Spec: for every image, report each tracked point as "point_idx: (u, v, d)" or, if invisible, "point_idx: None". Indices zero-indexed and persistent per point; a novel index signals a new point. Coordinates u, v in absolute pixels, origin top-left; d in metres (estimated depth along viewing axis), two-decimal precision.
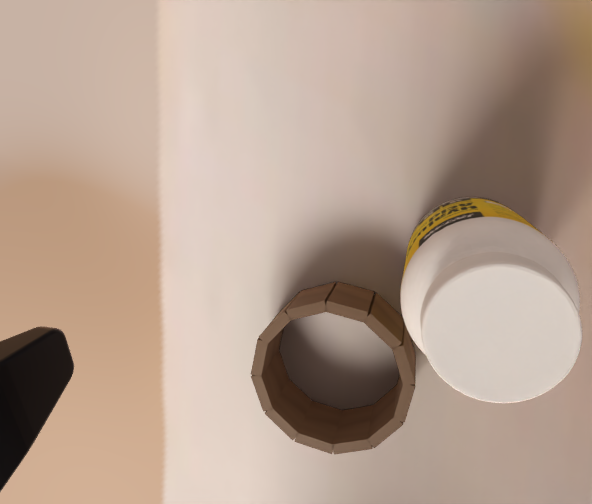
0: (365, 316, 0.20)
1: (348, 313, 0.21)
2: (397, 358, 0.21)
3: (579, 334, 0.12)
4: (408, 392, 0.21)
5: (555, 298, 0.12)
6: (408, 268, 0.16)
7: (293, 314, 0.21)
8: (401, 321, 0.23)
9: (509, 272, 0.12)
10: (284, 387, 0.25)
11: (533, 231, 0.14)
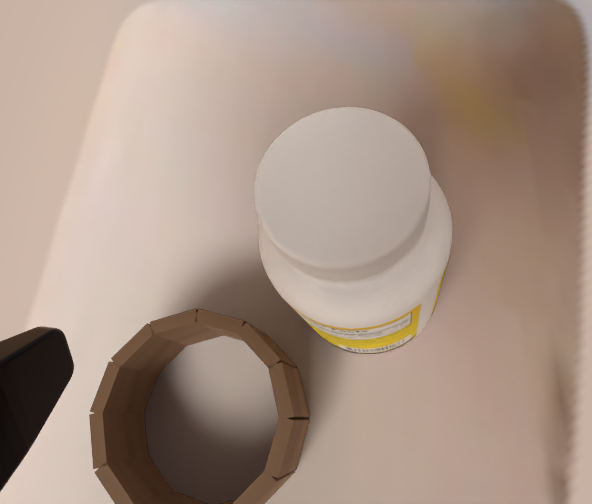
0: (240, 326, 0.17)
1: (220, 322, 0.17)
2: (273, 381, 0.16)
3: (426, 171, 0.10)
4: (285, 430, 0.16)
5: (396, 135, 0.11)
6: None
7: (157, 326, 0.18)
8: (291, 363, 0.19)
9: (347, 114, 0.11)
10: (137, 459, 0.18)
11: None
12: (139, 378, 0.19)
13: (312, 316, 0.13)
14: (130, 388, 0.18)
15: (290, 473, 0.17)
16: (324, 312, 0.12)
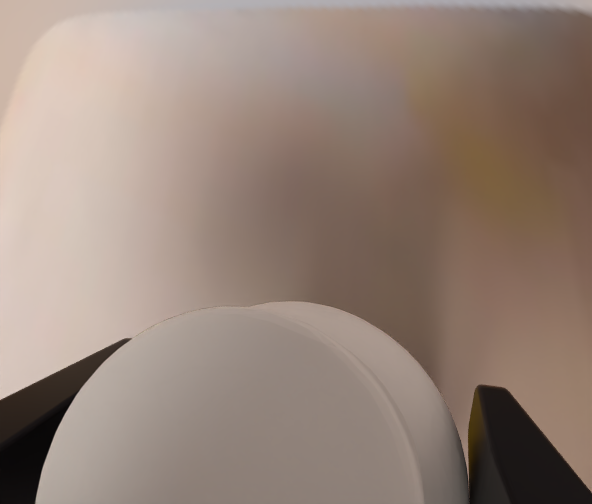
0: None
1: None
2: None
3: None
4: None
5: (346, 395, 0.05)
6: None
7: None
8: None
9: (243, 327, 0.05)
10: None
11: (364, 321, 0.08)
12: None
13: None
14: None
15: None
16: None
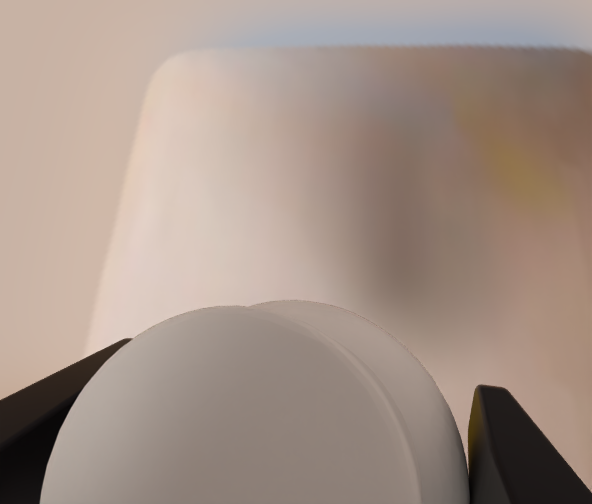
0: None
1: None
2: None
3: None
4: None
5: (344, 394, 0.05)
6: None
7: None
8: None
9: (241, 327, 0.05)
10: None
11: (364, 319, 0.08)
12: None
13: None
14: None
15: None
16: None
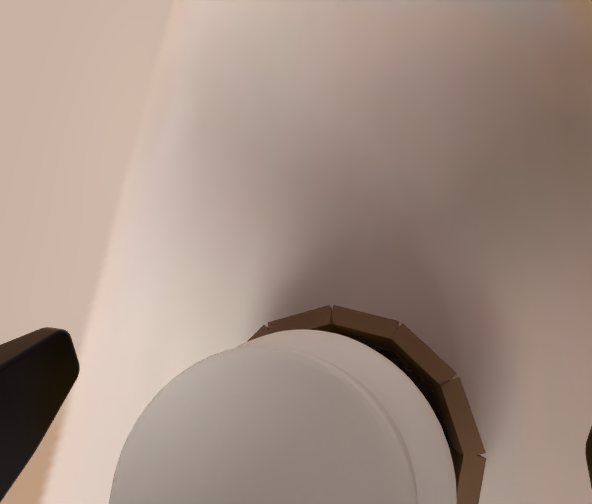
0: (394, 328, 0.13)
1: (366, 324, 0.13)
2: (450, 403, 0.12)
3: None
4: (474, 471, 0.11)
5: (355, 419, 0.06)
6: None
7: (278, 329, 0.13)
8: None
9: (272, 364, 0.06)
10: None
11: (366, 347, 0.09)
12: None
13: None
14: None
15: None
16: None
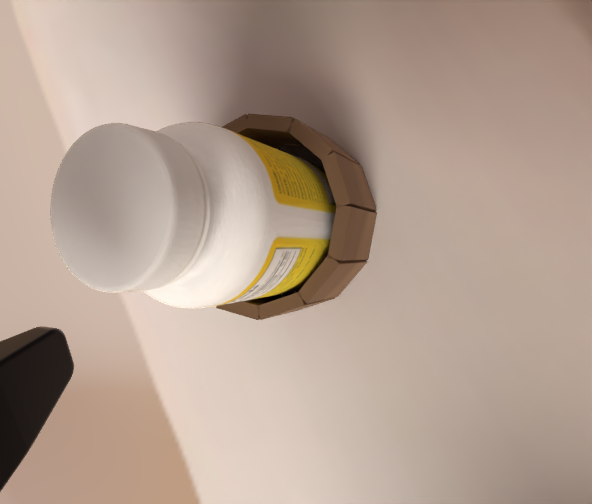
0: (245, 120, 0.17)
1: None
2: (298, 137, 0.17)
3: (157, 152, 0.11)
4: (332, 164, 0.16)
5: (121, 137, 0.11)
6: None
7: None
8: None
9: (81, 145, 0.12)
10: None
11: (175, 124, 0.14)
12: None
13: (201, 307, 0.14)
14: None
15: (370, 211, 0.18)
16: (201, 301, 0.13)
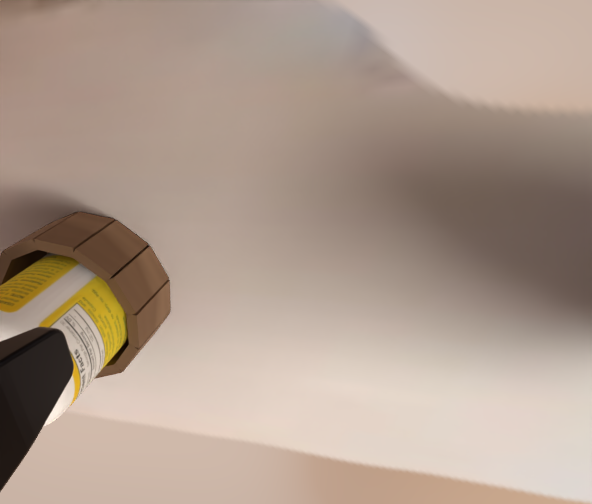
0: None
1: None
2: (17, 255, 0.21)
3: None
4: (43, 244, 0.20)
5: None
6: None
7: None
8: None
9: None
10: None
11: None
12: None
13: (66, 396, 0.18)
14: None
15: (107, 226, 0.22)
16: None
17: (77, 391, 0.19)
